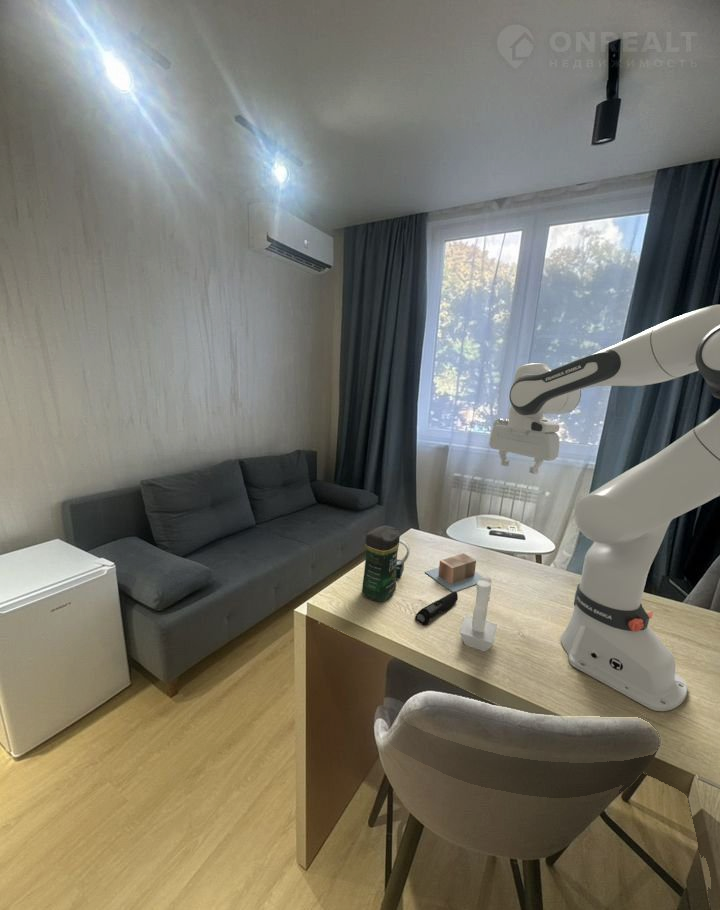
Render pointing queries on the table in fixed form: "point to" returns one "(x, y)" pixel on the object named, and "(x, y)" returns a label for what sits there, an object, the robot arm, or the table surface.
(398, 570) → the watch
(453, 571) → the walnut block
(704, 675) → the table surface
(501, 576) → the table surface
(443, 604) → the electric trimmer
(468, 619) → the white peg stand
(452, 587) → the slate pad
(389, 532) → the coffee jar
